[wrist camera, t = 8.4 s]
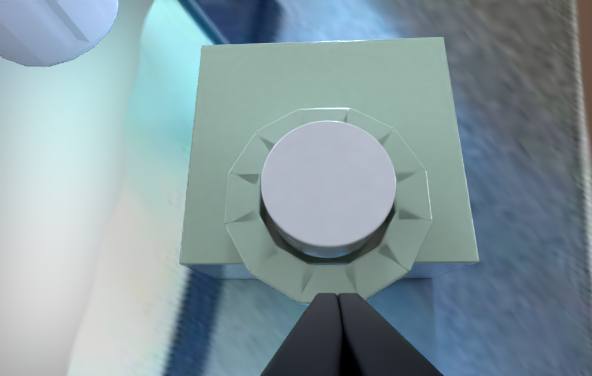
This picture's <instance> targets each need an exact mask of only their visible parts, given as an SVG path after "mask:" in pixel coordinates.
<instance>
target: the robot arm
mask: <svg viewBox="0 0 592 376" xmlns="http://www.w3.org/2000/svg"><path fill="white" fill-rule="evenodd" d="M260 376H444V375H443V374H441V373H440V372H439V371H438V370H437V369H436V368H435V367H434V366H433V365H432V364H431V363H430V362H429V361H428V360H427V359H426V358H425V357H424V356H423V355H422V354H421V353H420V352H419V351H418V350H416V349H415V348H414V347H413V346H412V345H411V344H410V343H409V342H408V341H407V340H406V339H405V338H404V337H403V336H402V335H401V334H400V333H399V332H398V331H397V330H396V329H395V328H394V327H393V326H391V325H390V324H389V323H388V322H387V321H386V320H385V319H384V318H383V317H382V316H381V315H380V314H379V313H378V312H377V311H376V310H375V309H374V308H373V307H372V306H371V305H370V304H369V303H368V302H366V301H365V300H364V299H363V298H362V297H361V296H360V295H359V294H357V293H339V294H338V296H337V294H335V293H318V294H317V295H316V296H315V297H314V299H313V300H312V302H311V303H310V304H309V306H308V307H307V309H306V310H305V312H304V313H303V315H302V316H301V317H300V319H299V320H298V322H297V323H296V325H295V326H294V328H293V329H292V330H291V332H290V333H289V335H288V336H287V338H286V339H285V341H284V342H283V343H282V345H281V346H280V348H279V349H278V351H277V352H276V353H275V355H274V356H273V358H272V359H271V361H270V362H269V364H268V365H267V366H266V368H265V369H264V371H263V372H262V374H261V375H260Z"/></svg>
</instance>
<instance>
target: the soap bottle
mask: <svg viewBox="0 0 592 376" xmlns="http://www.w3.org/2000/svg"><path fill="white" fill-rule="evenodd" d="M117 14H118V0H0V56H2V57H3V58H5V59H8V60H10V61H13V62H16V63H19V64H21V65H24V66H53V65H56V64H60V63H63V62H67V61H70V60H73V59H75V58H77V57H79V56H80V55H82V54H83V53H85V52H87V51H89V50H90V49H92V48H94V47H95V46H96V45H97V44H98V42H99V41H100V40H101V39H102V38H103V37H104V36H105V35H106V34H107V33H108V32H109V31H110V29H111V27H112V25H113V22H114V20H115V18H116V16H117Z"/></svg>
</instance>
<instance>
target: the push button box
mask: <svg viewBox="0 0 592 376" xmlns="http://www.w3.org/2000/svg"><path fill="white" fill-rule="evenodd" d="M317 121H338V122H344V123H348V124H351V125H354V126H356V127H359V128H360V129H362V130H364V131H366V132H367V133H369V134H370V135H371V136H373V137H374V138H375V139H376V140H377V141H378V142H379V143H380V144H381V145H382V147H383V148H384V149H385V151H386V152H387V154H388V155H389V157H390V160H391V162H392V164H393V167H394V171H395V176H396V194H395V199H394V202H393V205H392V208H391V210H390V212H389V214H388V216H387V217H386V219H385V220H384V222H383V223H382V225H381V226H380V227H379V229H378V230H377V232H376V233H375V234H374V235H373V237H372V238H371V239H370V240H369V241H368V242H367V243H366V244H365V245H364V246H362V247H361V248H359V249H358V250H356V251H354V252H352V253H350V254H347V255H344V256H340V257H333V258H321V257H315V256H311V255H308V254H305V253H303V252H301V251H298V250H297V249H295V248H294V247H292V246H291V245H290V244H288V243H287V242H286V241H285V240H284V239H283V238H282V237H281V235H280V234H279V233H278V231H277V230H276V228H275V226H274V224H273V222H272V220H271V217H270V215H269V213H268V211H267V209H266V206H265V204H264V200H263V197H262V191H261V176H262V171H263V166H264V164H265V161H266V159H267V157H268V155H269V153H270V151H271V150H272V148H273V147H274V146H275V144H276V143H277V142H278V141H279V140H280V139H281V138H282V137H284V136H285V135H286V134H287V133H289V132H291V131H292V130H294V129H296V128H298V127H300V126H302V125H305V124H308V123H312V122H317ZM179 263H180V265H183V266H186V267H188V268H191V269H194V270H196V271H199V272H201V273H204V274H207V275H209V276H212V277H215V278H217V279H259V280H260V281H262V282H264V283H265V284H267V285H269V286H270V287H272V288H274V289H275V290H277V291H279V292H280V293H282V294H284V295H285V296H287V297H289V298H290V299H292V300H294V301H295V302H297V303H298V304H302V305H309V304H310V303H311V302H312V300H313V299H314V297H315V296H316V295H317V294H318V293H335V294H337V296H338V294H339V293H357V294H359V295H360V296H361V297H362V298H363V299H364V300H366V299H368V298H370V297H371V296H373V295H374V294H376V293H378V292H379V291H381V290H382V289H384V288H386V287H387V286H389V285H390V284H392V283H394V282H395V281H397V280H399V279H400V278H433V277H436V276H439V275H442V274H445V273H448V272H451V271H454V270H457V269H461V268H464V267H467V266H470V265H473V264H476V263H479V256H478V250H477V243H476V237H475V231H474V225H473V218H472V212H471V206H470V200H469V194H468V187H467V181H466V175H465V169H464V162H463V156H462V150H461V144H460V138H459V131H458V125H457V119H456V113H455V106H454V100H453V94H452V88H451V81H450V75H449V69H448V63H447V57H446V50H445V44H444V38H443V37H434V38H405V39H377V40H348V41H320V42H291V43H262V44H234V45H205V46H202V48H201V57H200V67H199V77H198V86H197V96H196V106H195V116H194V125H193V135H192V145H191V155H190V164H189V174H188V184H187V194H186V203H185V213H184V223H183V232H182V242H181V252H180V262H179Z"/></svg>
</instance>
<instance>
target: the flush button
mask: <svg viewBox="0 0 592 376" xmlns="http://www.w3.org/2000/svg"><path fill="white" fill-rule="evenodd" d="M261 191H262V197H263V200H264V204H265V206H266V209H267V211H268V213H269V215H270V217H271V220H272V222H273V224H274V226H275V228H276V230H277V231H278V233H279V234H280V235H281V237H282V238H283V239H284V240H285V241H286V242H287V243H288V244H290V245H291V246H292V247H294V248H295V249H297V250H298V251H301V252H303V253H305V254H308V255H311V256H315V257H321V258H333V257H340V256H344V255H347V254H350V253H352V252H354V251H356V250H358V249H359V248H361V247H362V246H364V245H365V244H366V243H367V242H368V241H369V240H370V239H371V238H372V237H373V235H374V234H375V233H376V232H377V230H378V229H379V227H380V226H381V225H382V223H383V222H384V220H385V219H386V217H387V216H388V214H389V212H390V210H391V208H392V205H393V202H394V199H395V194H396V176H395V171H394V167H393V164H392V162H391V160H390V157H389V155H388V154H387V152H386V151H385V149H384V148H383V147H382V145H381V144H380V143H379V142H378V141H377V140H376V139H375V138H374V137H373V136H371V135H370V134H369V133H367V132H366V131H364V130H362V129H360V128H359V127H356V126H354V125H351V124H348V123H344V122H338V121H317V122H312V123H308V124H305V125H302V126H300V127H298V128H296V129H294V130H292V131H291V132H289V133H287V134H286V135H285V136H284V137H282V138H281V139H280V140H279V141H278V142H277V143H276V144H275V146H274V147H273V148H272V150H271V151H270V153H269V155H268V157H267V159H266V161H265V164H264V166H263V171H262V176H261Z"/></svg>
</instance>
